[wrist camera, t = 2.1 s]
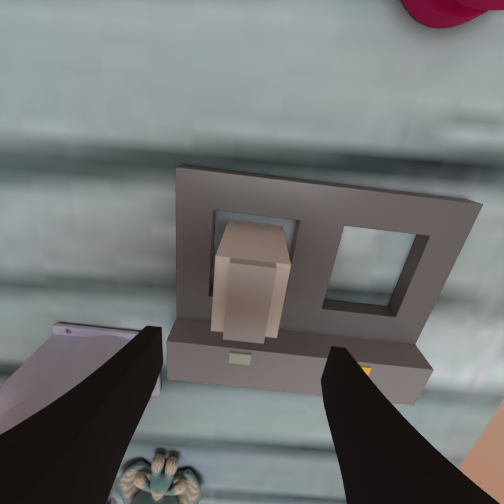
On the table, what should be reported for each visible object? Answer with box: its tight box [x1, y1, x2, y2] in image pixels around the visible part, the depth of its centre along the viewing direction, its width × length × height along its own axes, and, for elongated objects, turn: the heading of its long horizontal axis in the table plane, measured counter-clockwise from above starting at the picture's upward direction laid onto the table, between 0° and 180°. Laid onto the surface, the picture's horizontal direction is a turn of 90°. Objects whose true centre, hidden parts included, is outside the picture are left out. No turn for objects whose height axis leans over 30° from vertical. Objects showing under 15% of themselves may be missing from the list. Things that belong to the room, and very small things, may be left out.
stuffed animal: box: [116, 454, 202, 504], centre depth 31 cm, size 11×7×12 cm
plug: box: [211, 219, 291, 344], centre depth 18 cm, size 4×5×7 cm
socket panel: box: [166, 165, 483, 405], centre depth 20 cm, size 20×16×4 cm
